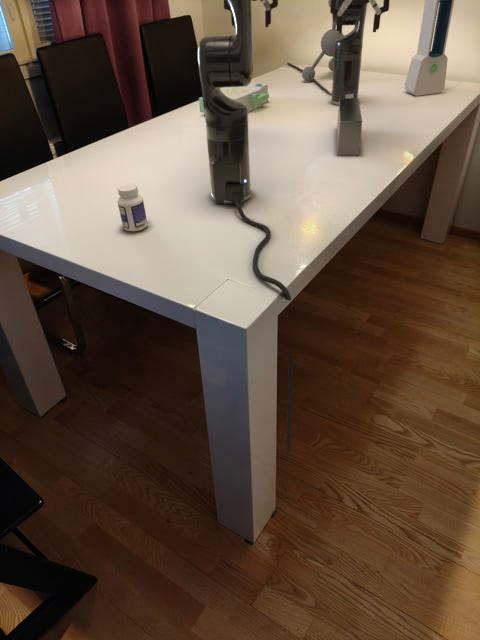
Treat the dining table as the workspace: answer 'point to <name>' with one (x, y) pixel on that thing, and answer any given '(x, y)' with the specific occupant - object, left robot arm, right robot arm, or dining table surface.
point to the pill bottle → (131, 208)
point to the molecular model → (324, 51)
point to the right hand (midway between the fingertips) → (357, 32)
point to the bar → (349, 127)
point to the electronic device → (428, 63)
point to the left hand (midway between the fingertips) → (251, 27)
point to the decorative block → (245, 95)
